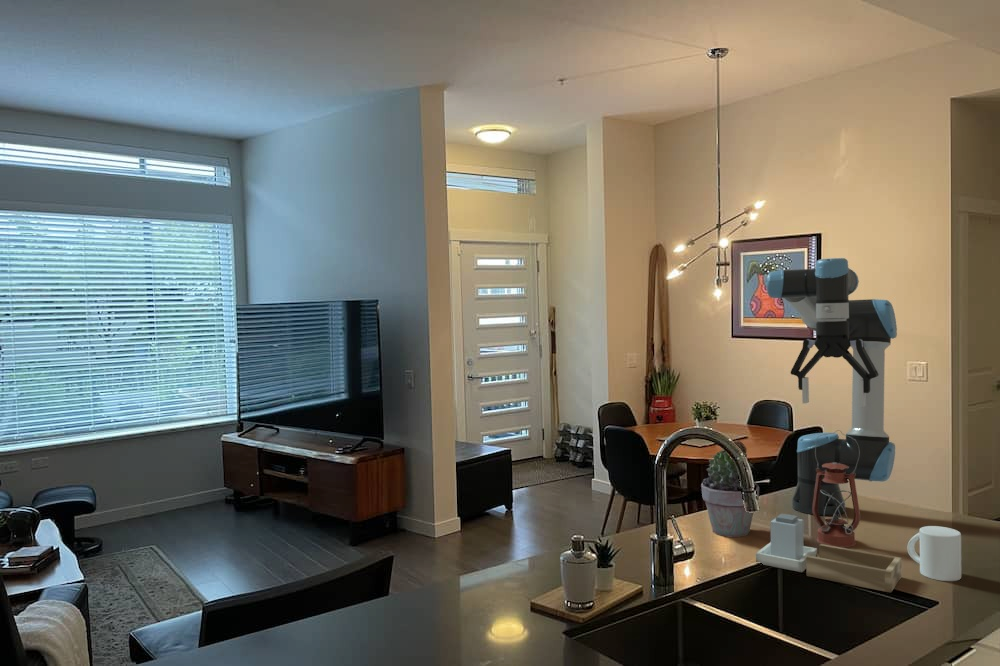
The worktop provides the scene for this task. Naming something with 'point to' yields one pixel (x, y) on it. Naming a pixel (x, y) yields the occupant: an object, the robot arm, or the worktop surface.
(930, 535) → the mug
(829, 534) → the lantern
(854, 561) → the bay
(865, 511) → the worktop surface
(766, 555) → the tray
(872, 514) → the worktop surface
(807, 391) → the robot arm
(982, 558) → the worktop surface
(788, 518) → the tall pale grey block
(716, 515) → the potted plant
